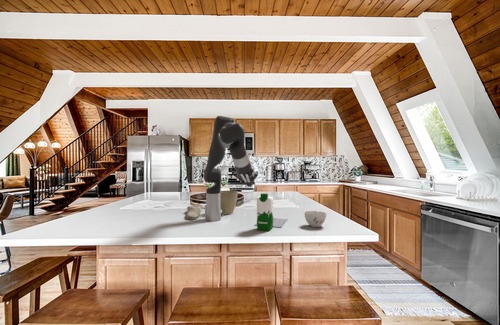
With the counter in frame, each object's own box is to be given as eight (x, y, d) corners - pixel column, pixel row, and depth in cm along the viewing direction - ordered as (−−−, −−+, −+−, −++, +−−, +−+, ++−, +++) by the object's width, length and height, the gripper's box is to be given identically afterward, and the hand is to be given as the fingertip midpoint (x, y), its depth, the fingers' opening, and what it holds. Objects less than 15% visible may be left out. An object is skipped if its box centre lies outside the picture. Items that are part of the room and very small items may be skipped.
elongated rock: (183, 223, 168) (199, 223, 170) (184, 214, 168) (200, 215, 170) (187, 210, 203) (200, 210, 205) (188, 203, 203) (201, 203, 204)
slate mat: (254, 225, 155) (254, 225, 155) (263, 218, 176) (263, 217, 176) (281, 227, 150) (281, 227, 150) (287, 219, 171) (287, 219, 171)
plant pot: (214, 215, 185) (215, 192, 185) (220, 211, 200) (220, 190, 200) (235, 215, 183) (235, 193, 183) (239, 211, 198) (239, 190, 198)
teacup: (328, 229, 147) (328, 214, 147) (305, 228, 148) (305, 214, 148) (323, 222, 162) (323, 209, 162) (302, 222, 163) (302, 209, 163)
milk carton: (255, 230, 144) (255, 194, 144) (260, 226, 153) (260, 192, 153) (270, 231, 141) (270, 194, 141) (274, 227, 150) (274, 192, 150)
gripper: (256, 155, 123) (263, 180, 135) (230, 156, 127) (239, 180, 139) (253, 167, 118) (260, 191, 130) (226, 167, 122) (235, 190, 134)
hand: (249, 185), depth 134 cm, fingers closed
